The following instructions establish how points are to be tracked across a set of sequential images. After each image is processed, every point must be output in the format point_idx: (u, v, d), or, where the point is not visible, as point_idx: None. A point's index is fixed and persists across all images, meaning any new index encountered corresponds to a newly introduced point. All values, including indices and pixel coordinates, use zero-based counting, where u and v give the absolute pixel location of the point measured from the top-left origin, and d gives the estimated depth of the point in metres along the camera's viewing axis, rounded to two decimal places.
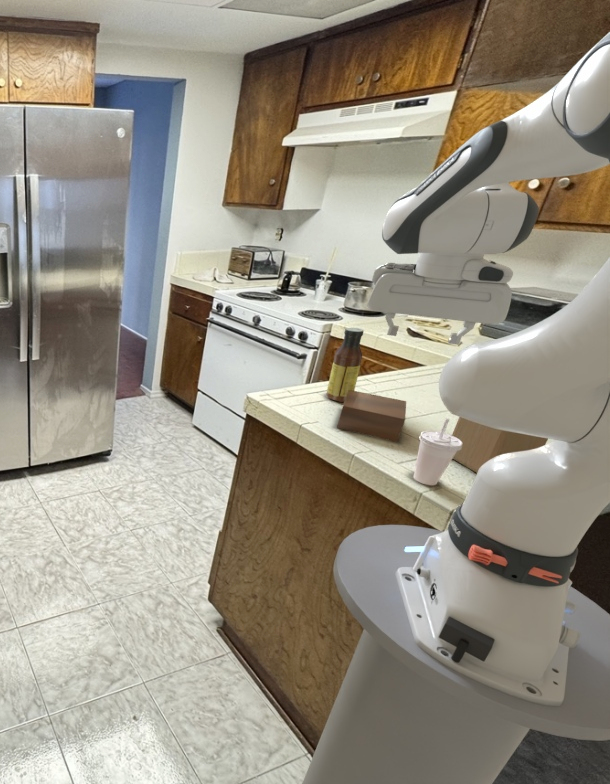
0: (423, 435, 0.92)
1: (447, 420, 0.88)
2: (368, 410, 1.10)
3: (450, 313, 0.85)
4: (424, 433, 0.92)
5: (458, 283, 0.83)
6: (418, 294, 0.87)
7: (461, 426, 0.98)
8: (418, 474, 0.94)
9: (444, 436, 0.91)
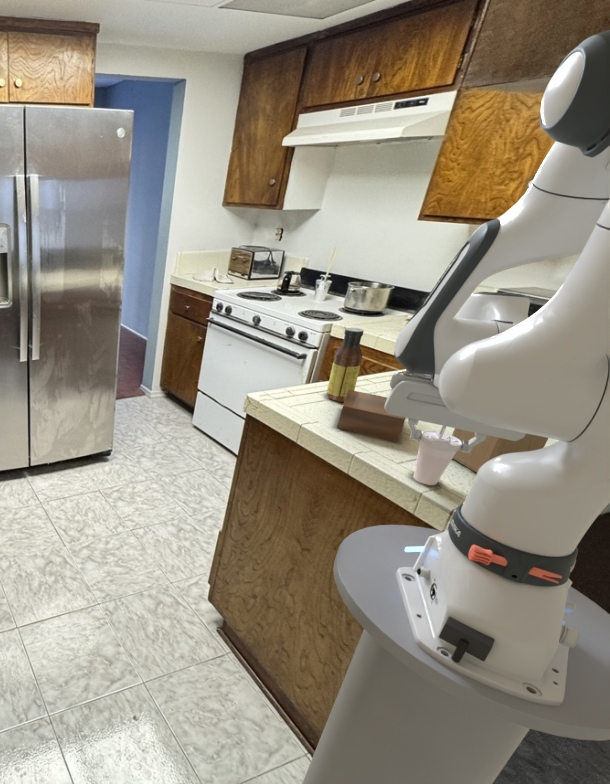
0: (423, 435, 0.92)
1: None
2: (368, 410, 1.10)
3: (469, 425, 0.86)
4: (424, 433, 0.92)
5: None
6: (436, 404, 0.88)
7: None
8: (418, 474, 0.94)
9: (444, 436, 0.91)
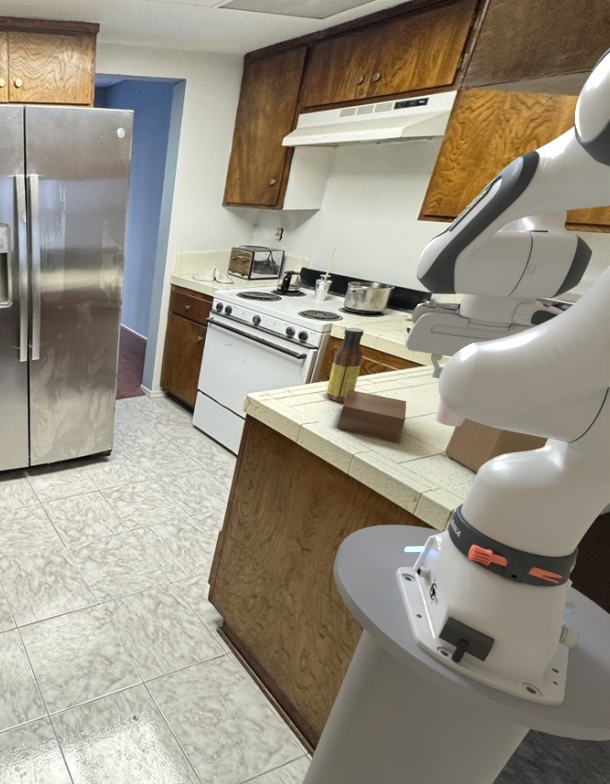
0: None
1: None
2: (368, 410, 1.10)
3: None
4: None
5: (507, 326, 0.78)
6: (462, 336, 0.82)
7: (461, 426, 0.98)
8: (441, 415, 0.88)
9: None
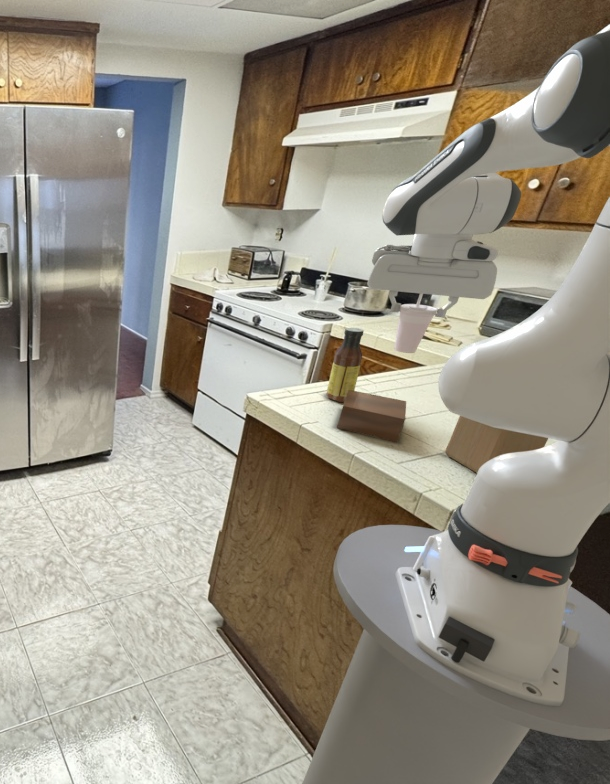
0: (402, 306, 1.00)
1: None
2: (368, 410, 1.10)
3: (442, 289, 0.95)
4: (403, 305, 1.01)
5: (449, 262, 0.92)
6: (413, 273, 0.97)
7: (461, 426, 0.98)
8: (398, 344, 1.02)
9: (421, 306, 1.00)
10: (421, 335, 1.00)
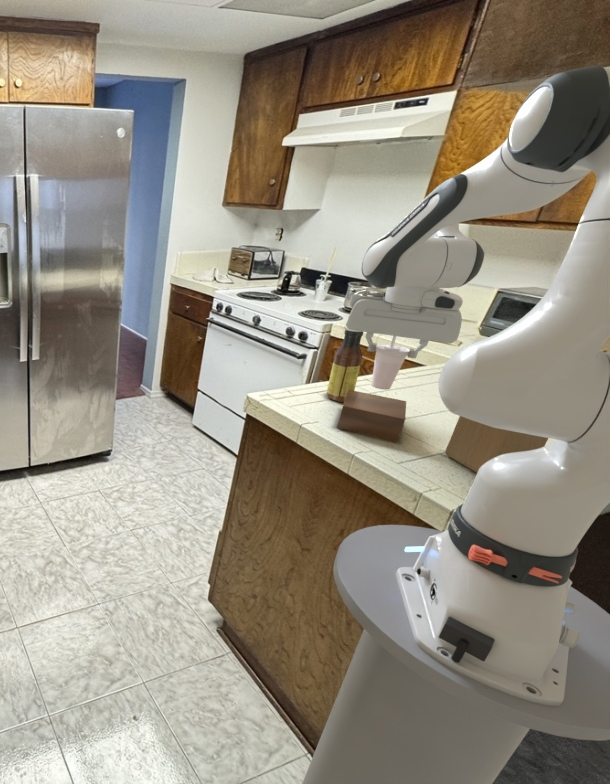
0: (378, 346, 1.09)
1: None
2: (368, 410, 1.10)
3: (413, 333, 1.03)
4: (379, 345, 1.09)
5: (419, 309, 1.01)
6: (387, 317, 1.05)
7: (461, 426, 0.98)
8: (374, 380, 1.10)
9: (395, 346, 1.08)
10: (395, 373, 1.08)
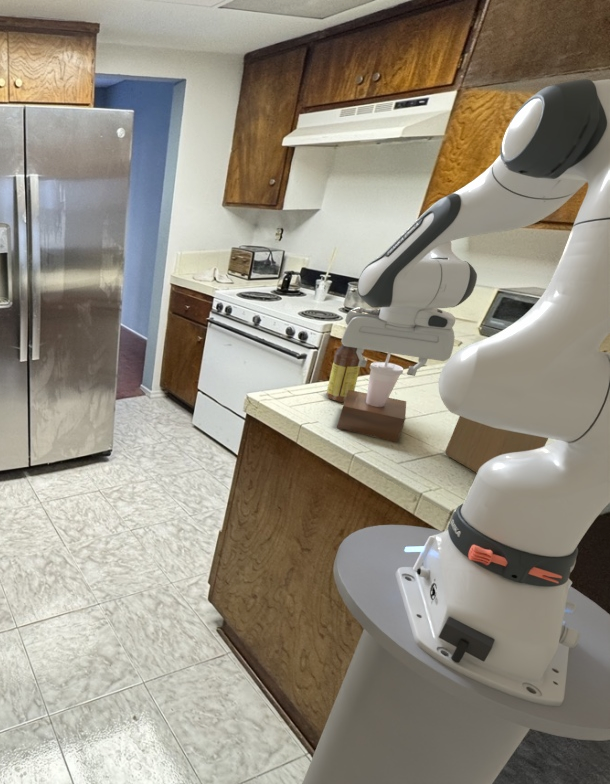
0: (372, 364, 1.10)
1: None
2: (368, 410, 1.10)
3: (407, 351, 1.04)
4: (373, 363, 1.11)
5: (413, 327, 1.02)
6: (382, 335, 1.07)
7: (461, 426, 0.98)
8: (369, 398, 1.12)
9: (389, 365, 1.10)
10: (389, 391, 1.09)
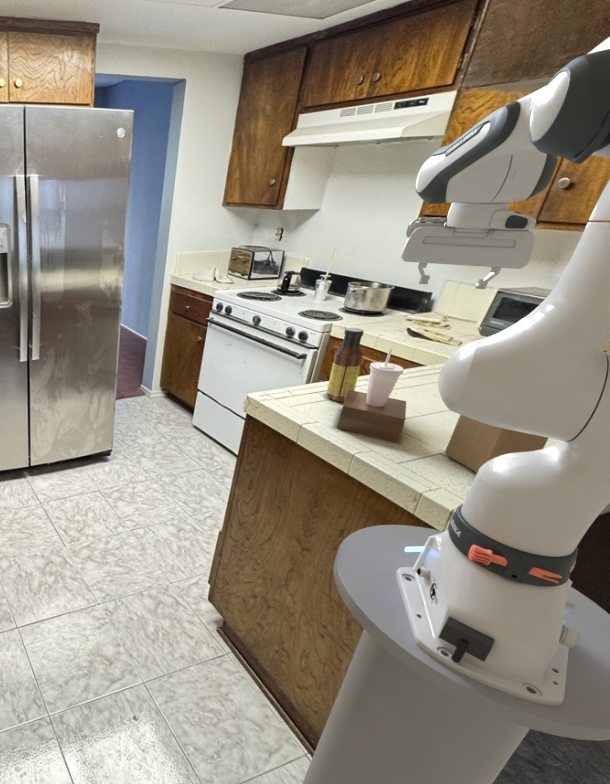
0: (372, 364, 1.10)
1: (390, 350, 1.07)
2: (368, 410, 1.10)
3: (478, 260, 0.95)
4: (373, 363, 1.11)
5: (486, 232, 0.93)
6: (449, 244, 0.97)
7: (461, 426, 0.98)
8: (369, 398, 1.12)
9: (389, 365, 1.10)
10: (389, 391, 1.09)
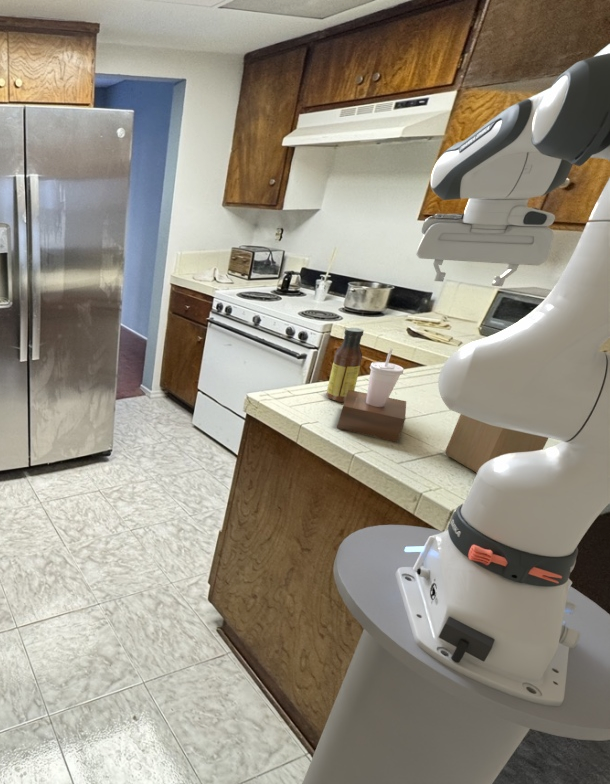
0: (372, 364, 1.10)
1: (391, 350, 1.07)
2: (368, 410, 1.10)
3: (495, 257, 0.95)
4: (374, 363, 1.11)
5: (504, 228, 0.92)
6: (465, 241, 0.97)
7: (460, 426, 0.98)
8: (369, 398, 1.12)
9: (389, 365, 1.10)
10: (389, 391, 1.09)
